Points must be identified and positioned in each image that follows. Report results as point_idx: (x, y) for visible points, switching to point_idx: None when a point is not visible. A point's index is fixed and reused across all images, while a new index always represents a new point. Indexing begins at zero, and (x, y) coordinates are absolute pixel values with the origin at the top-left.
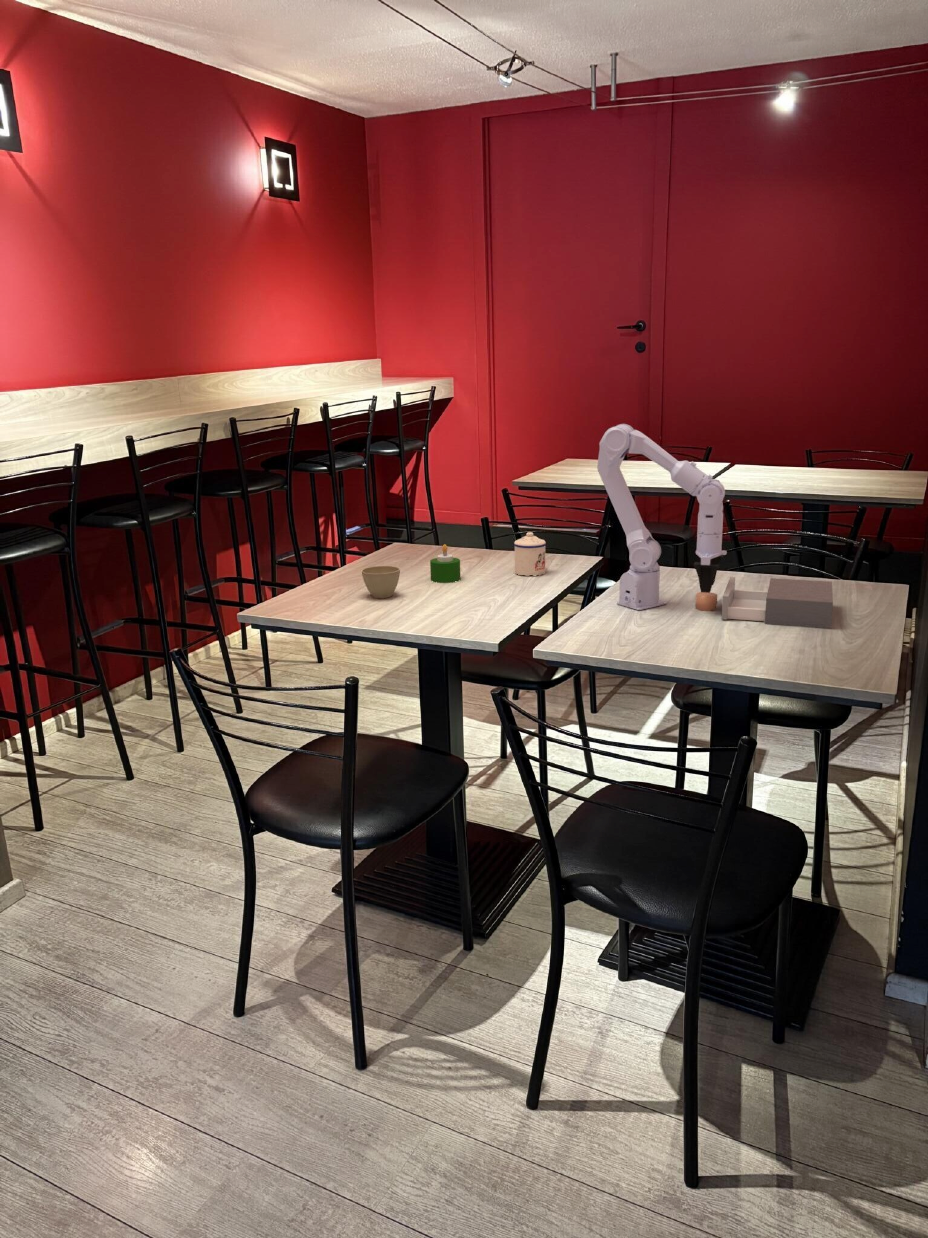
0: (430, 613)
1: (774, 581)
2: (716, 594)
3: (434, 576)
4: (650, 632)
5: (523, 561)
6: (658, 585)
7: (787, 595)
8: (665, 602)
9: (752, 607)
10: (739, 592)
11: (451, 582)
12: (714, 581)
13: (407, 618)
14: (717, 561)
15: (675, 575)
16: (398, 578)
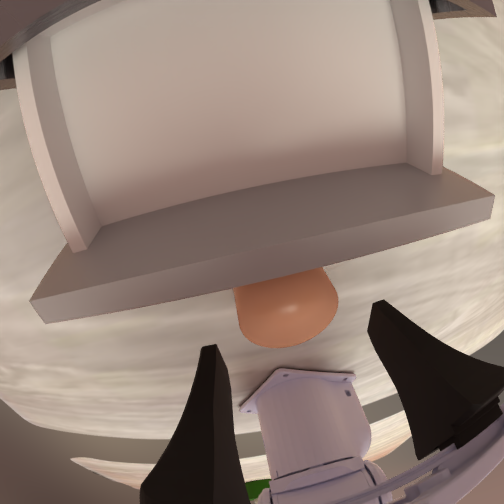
0: (382, 440)
1: (2, 18)
2: (267, 285)
3: None
4: (483, 286)
5: None
6: (311, 422)
7: None
8: (282, 372)
9: (228, 78)
10: (78, 217)
11: (268, 479)
12: (201, 358)
13: (397, 435)
14: (219, 477)
15: (24, 396)
16: None
